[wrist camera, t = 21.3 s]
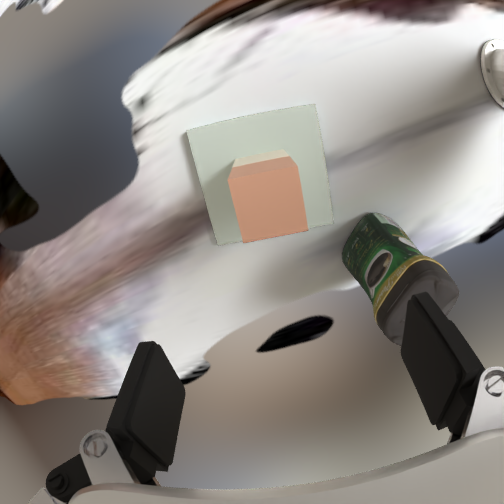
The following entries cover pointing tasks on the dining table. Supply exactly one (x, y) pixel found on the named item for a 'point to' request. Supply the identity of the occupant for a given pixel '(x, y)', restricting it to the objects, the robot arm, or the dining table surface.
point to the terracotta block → (268, 199)
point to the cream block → (260, 157)
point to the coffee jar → (394, 272)
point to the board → (256, 142)
